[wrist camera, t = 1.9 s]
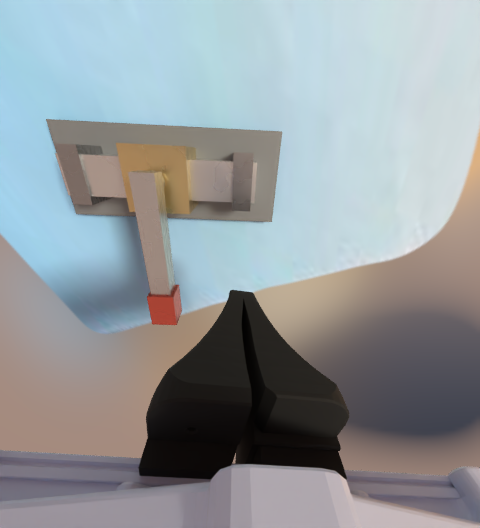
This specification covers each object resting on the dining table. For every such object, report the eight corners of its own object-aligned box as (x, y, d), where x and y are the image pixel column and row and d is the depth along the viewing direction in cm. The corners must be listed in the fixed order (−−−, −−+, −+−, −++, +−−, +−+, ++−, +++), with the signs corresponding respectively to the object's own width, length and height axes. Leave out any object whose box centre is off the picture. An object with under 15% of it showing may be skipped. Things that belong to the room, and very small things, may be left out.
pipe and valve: (95, 198, 19) (62, 209, 15) (80, 141, 17) (38, 138, 13) (251, 205, 19) (254, 216, 16) (255, 150, 17) (259, 149, 14)
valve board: (83, 211, 20) (76, 213, 19) (56, 120, 17) (46, 119, 16) (270, 218, 21) (271, 221, 20) (279, 132, 17) (282, 131, 16)
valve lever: (137, 169, 14) (121, 172, 12) (168, 171, 14) (157, 173, 12) (160, 307, 19) (152, 324, 17) (182, 307, 19) (176, 324, 17)
